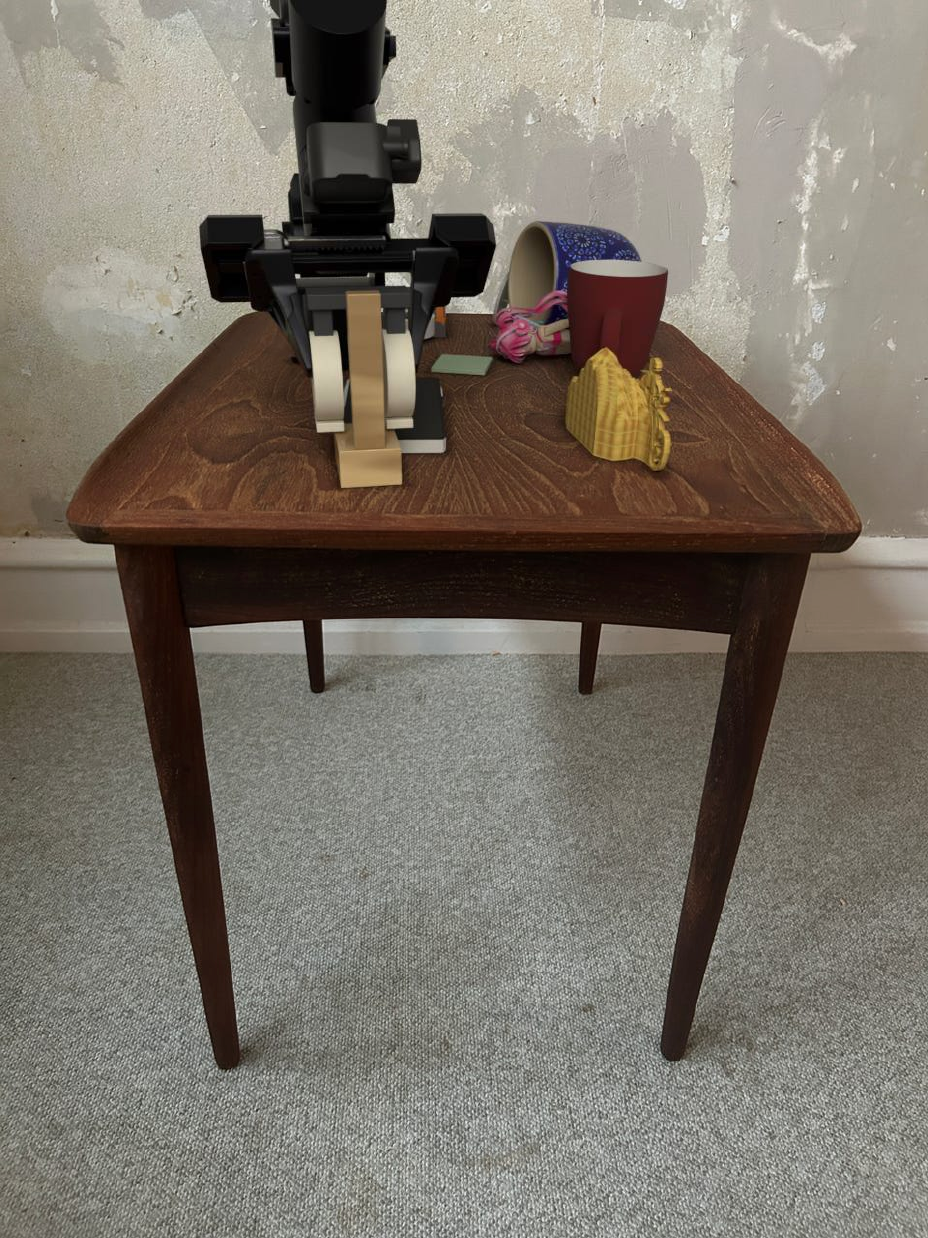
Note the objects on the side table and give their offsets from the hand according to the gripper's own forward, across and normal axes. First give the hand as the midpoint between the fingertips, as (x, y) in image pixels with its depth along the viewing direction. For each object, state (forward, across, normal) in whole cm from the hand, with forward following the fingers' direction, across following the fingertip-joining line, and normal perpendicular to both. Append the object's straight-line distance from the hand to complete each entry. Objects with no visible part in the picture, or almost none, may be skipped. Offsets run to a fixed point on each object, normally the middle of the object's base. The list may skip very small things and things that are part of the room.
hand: (362, 372), depth 56 cm
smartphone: (-2, +3, +12) cm, 13 cm away
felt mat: (-13, +11, +22) cm, 28 cm away
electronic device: (-24, +9, +34) cm, 43 cm away
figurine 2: (+4, +18, +6) cm, 19 cm away
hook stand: (+5, 0, +5) cm, 7 cm away
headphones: (+2, 0, +4) cm, 4 cm away
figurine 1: (-26, +19, +31) cm, 45 cm away
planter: (-23, +31, +26) cm, 47 cm away
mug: (-5, +22, +15) cm, 27 cm away
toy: (-14, +22, +23) cm, 35 cm away
